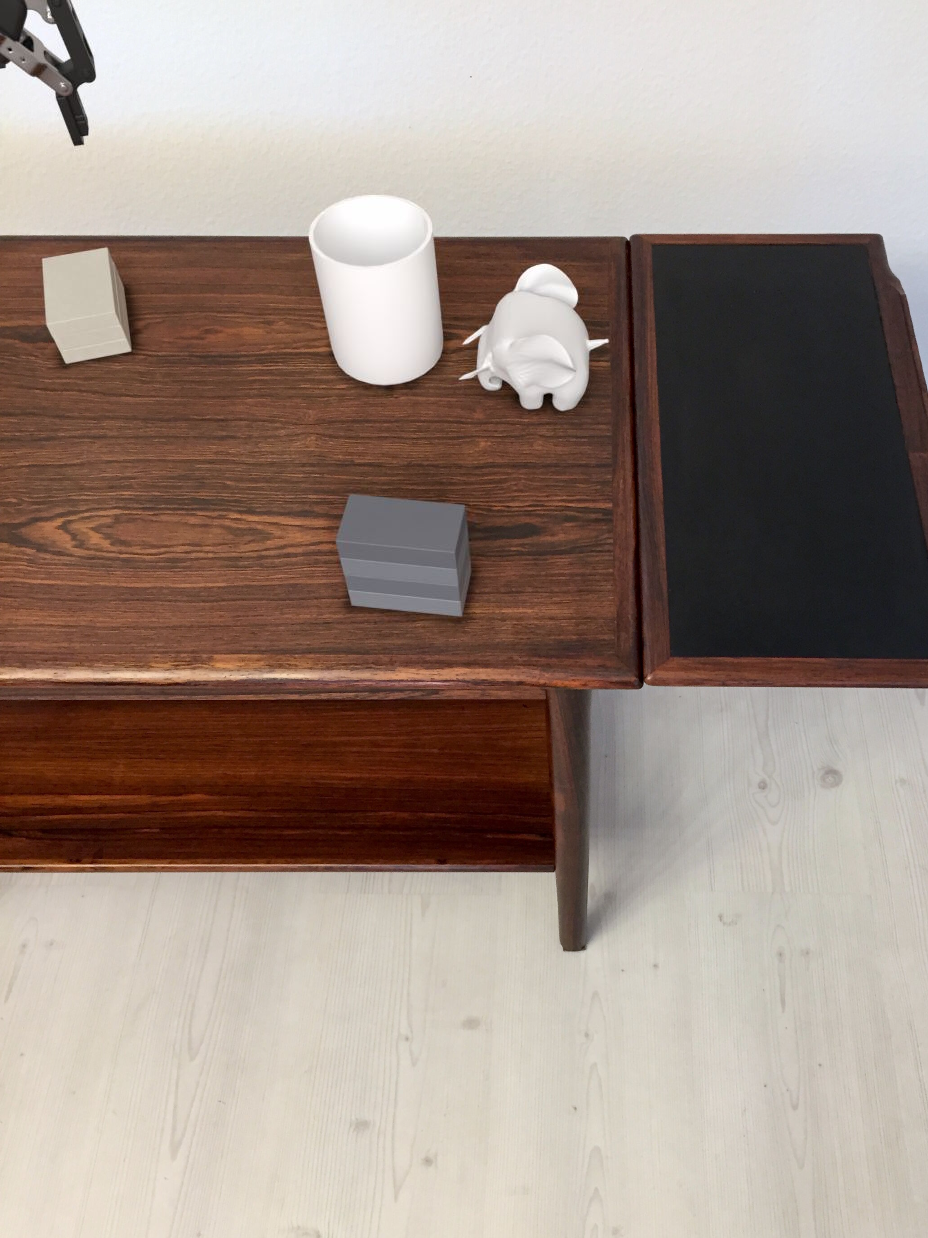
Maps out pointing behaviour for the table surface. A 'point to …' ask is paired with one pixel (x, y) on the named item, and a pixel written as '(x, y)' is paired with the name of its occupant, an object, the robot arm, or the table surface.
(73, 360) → the cream rectangular box
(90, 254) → the off-white rectangular slab
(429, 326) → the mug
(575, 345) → the elephant figurine
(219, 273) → the table surface
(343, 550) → the grey rectangular block
